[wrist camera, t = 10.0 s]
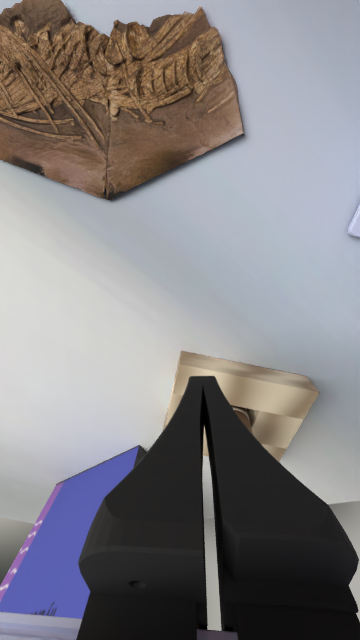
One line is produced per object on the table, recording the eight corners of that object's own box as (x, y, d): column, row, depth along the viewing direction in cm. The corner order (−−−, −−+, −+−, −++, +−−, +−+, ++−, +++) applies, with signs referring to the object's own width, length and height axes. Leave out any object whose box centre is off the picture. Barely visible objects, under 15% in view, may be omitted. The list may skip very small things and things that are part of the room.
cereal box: (78, 499, 34) (-137, 987, 12) (57, 483, 33) (-228, 997, 11) (160, 464, 30) (58, 1155, 7) (139, 445, 28) (-62, 1211, 6)
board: (306, 376, 22) (319, 392, 20) (267, 449, 27) (274, 469, 25) (181, 350, 22) (179, 364, 20) (163, 428, 27) (160, 446, 24)
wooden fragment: (262, 18, 13) (268, 0, 12) (230, 212, 17) (233, 211, 16) (-122, -6, 14) (-146, -25, 13) (-63, 185, 18) (-78, 182, 17)
